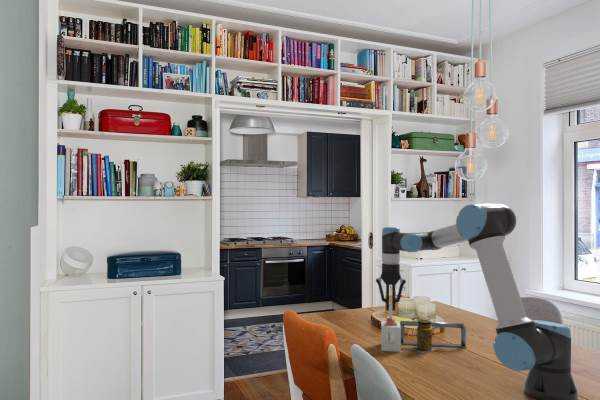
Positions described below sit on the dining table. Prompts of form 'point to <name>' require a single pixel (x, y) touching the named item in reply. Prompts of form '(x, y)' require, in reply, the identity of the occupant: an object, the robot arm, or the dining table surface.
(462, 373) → the dining table surface
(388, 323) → the plunger
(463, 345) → the handrail
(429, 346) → the condiment
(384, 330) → the cabinet
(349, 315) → the dining table surface
